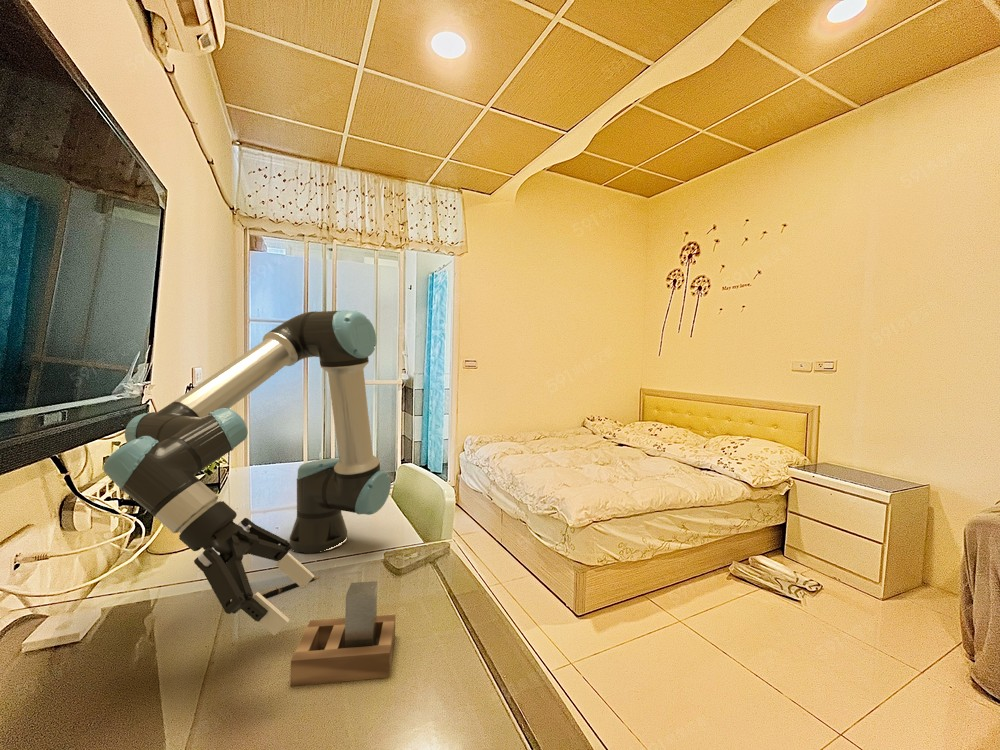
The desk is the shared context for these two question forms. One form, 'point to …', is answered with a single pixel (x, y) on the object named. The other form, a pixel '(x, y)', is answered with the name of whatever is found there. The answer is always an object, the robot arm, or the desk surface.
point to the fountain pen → (281, 589)
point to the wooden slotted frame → (341, 653)
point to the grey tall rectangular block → (361, 615)
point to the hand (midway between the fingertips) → (296, 602)
